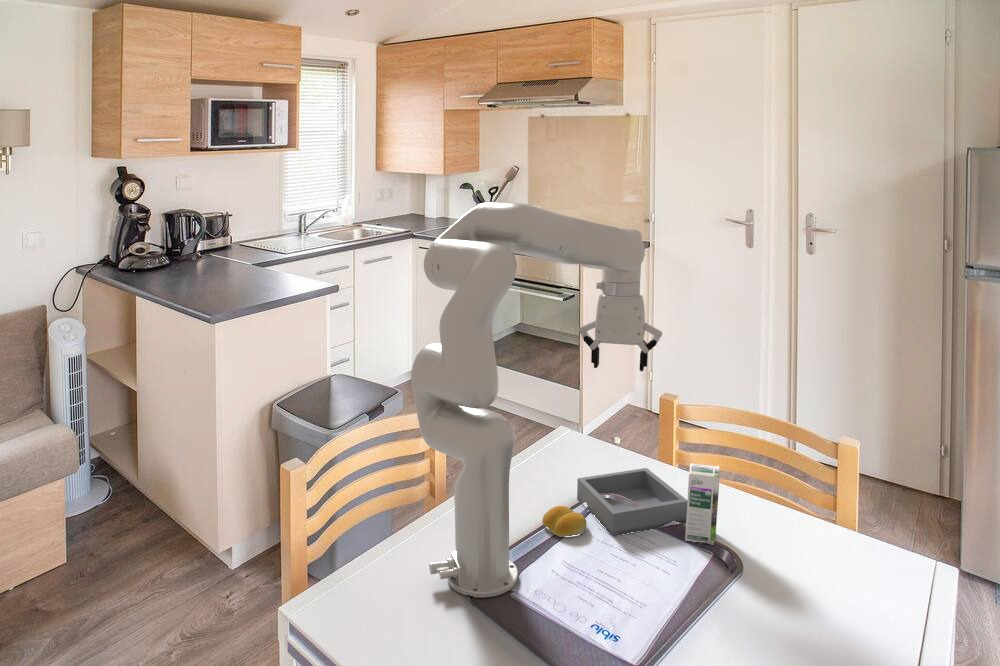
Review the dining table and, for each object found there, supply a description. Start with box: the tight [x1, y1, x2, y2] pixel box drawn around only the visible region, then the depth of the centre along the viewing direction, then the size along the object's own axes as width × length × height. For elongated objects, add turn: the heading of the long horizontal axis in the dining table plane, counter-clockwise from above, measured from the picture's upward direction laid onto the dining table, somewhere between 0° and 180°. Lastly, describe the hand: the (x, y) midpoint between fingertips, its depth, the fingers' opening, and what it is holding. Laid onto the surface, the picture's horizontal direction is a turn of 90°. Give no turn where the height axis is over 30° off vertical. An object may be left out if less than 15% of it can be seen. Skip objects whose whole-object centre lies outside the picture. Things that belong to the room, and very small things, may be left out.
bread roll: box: [541, 505, 588, 538], centre depth 144 cm, size 8×9×4 cm
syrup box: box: [684, 462, 721, 543], centre depth 139 cm, size 6×6×14 cm
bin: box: [576, 467, 688, 537], centre depth 151 cm, size 17×17×5 cm
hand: (618, 368), depth 151 cm, fingers open, 9 cm apart
